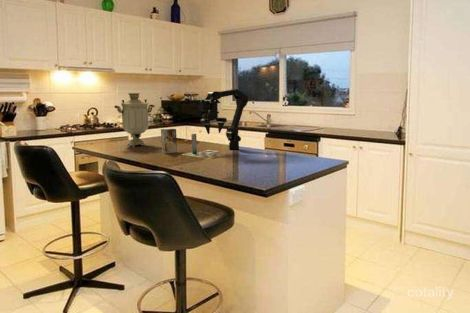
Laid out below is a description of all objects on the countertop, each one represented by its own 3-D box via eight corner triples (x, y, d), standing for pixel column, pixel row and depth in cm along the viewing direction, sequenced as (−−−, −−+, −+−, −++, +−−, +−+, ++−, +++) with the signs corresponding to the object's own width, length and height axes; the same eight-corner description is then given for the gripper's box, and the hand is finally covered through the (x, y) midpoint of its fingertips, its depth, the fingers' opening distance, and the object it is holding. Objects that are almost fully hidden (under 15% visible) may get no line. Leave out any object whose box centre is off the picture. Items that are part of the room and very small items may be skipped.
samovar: (155, 141, 327) (152, 92, 319) (157, 146, 302) (155, 93, 295) (117, 143, 319) (113, 93, 312) (117, 148, 294) (113, 93, 287)
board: (223, 157, 253) (223, 151, 253) (210, 160, 244) (210, 153, 243) (194, 153, 269) (193, 147, 269) (181, 155, 260) (180, 149, 260)
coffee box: (174, 151, 280) (173, 128, 277) (177, 152, 274) (176, 129, 271) (161, 152, 276) (160, 129, 273) (164, 153, 270) (163, 130, 267)
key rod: (198, 153, 262) (197, 133, 259) (195, 154, 259) (194, 134, 256) (193, 153, 263) (192, 133, 260) (191, 154, 260) (190, 134, 257)
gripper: (217, 109, 279) (217, 131, 282) (195, 110, 267) (195, 133, 270) (227, 109, 270) (227, 132, 273) (204, 111, 259) (205, 135, 261)
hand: (214, 133), depth 270 cm, fingers open, 9 cm apart
